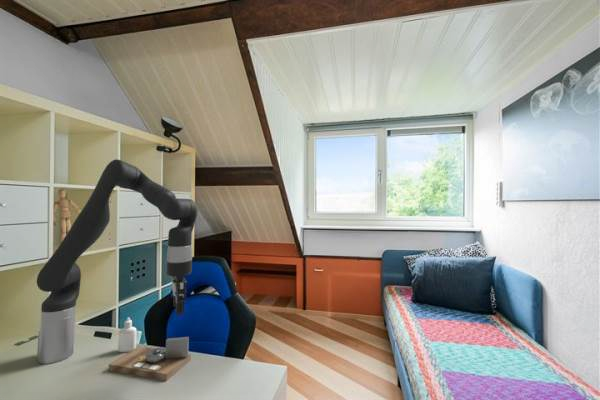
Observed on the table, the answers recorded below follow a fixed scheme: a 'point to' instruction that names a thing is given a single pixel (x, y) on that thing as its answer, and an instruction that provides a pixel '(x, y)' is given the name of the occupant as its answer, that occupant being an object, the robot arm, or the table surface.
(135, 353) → the stand
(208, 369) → the table surface
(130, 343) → the eye dropper bottle
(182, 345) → the lever
